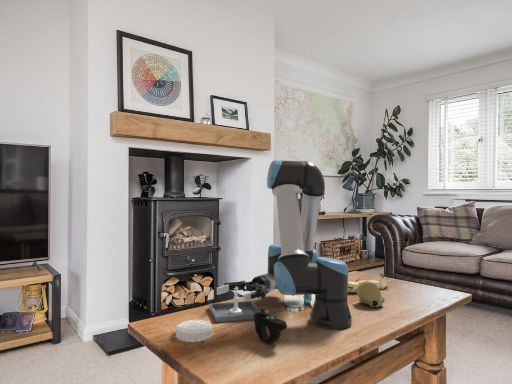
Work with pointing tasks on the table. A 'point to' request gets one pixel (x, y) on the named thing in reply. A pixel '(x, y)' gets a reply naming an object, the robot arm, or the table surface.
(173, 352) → the table surface
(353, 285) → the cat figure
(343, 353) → the table surface
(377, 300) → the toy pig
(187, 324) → the mooncake
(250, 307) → the tray
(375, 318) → the table surface
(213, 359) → the table surface
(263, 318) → the controller
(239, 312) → the chess piece
